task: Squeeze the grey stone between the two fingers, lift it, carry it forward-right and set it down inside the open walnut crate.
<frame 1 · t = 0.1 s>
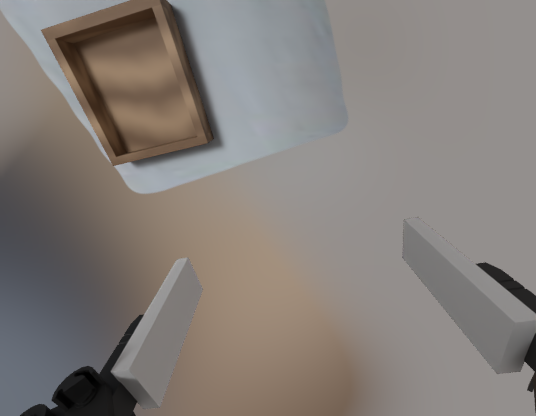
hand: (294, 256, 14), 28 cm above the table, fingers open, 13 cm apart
crate: (146, 92, 35), on the table
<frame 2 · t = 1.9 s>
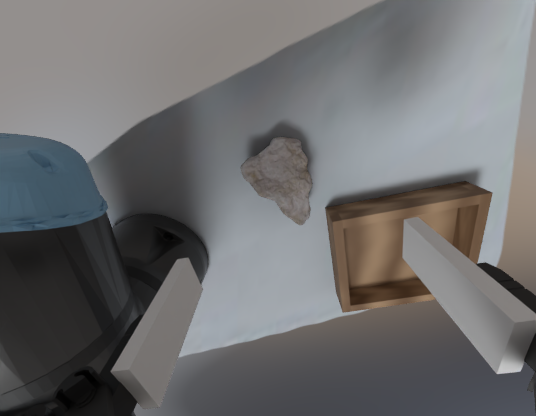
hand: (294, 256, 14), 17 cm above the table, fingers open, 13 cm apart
stone: (280, 175, 30), on the table
crate: (392, 243, 34), on the table
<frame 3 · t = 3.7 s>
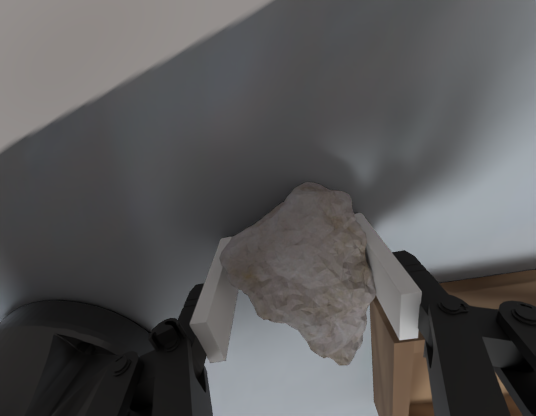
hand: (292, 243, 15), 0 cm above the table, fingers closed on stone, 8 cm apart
stone: (300, 245, 16), on the table, touching gripper
crate: (477, 344, 20), on the table
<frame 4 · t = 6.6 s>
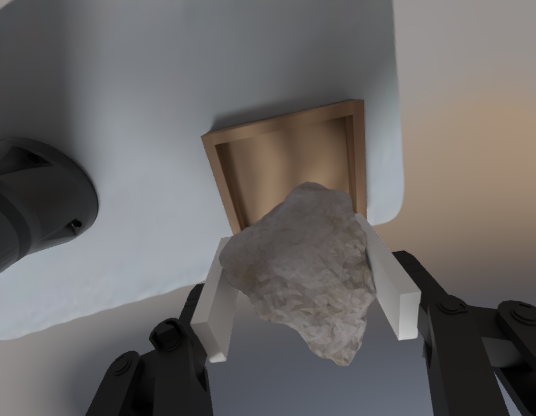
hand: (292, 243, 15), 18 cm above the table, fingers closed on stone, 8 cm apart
stone: (300, 245, 16), point 17 cm above the table, touching gripper
crate: (288, 176, 32), on the table
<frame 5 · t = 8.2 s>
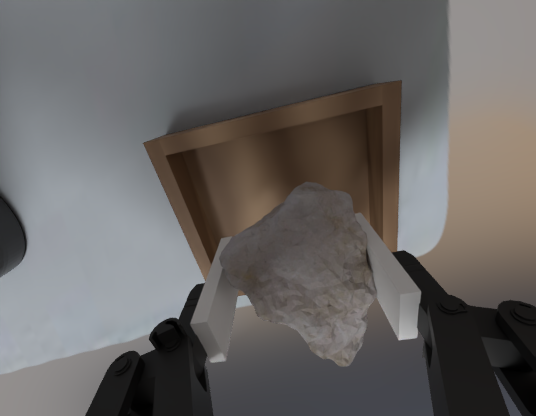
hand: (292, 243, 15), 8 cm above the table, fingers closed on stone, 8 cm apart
stone: (300, 246, 16), point 7 cm above the table, touching gripper
crate: (283, 196, 23), on the table
when the fingers open (4 cm above the table, at t = 9.2 s): stone drops 3 cm, resting on crate.
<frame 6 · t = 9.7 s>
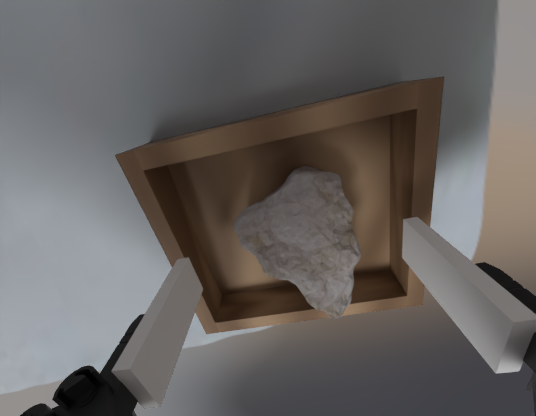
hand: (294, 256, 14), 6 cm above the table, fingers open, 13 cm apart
stone: (299, 223, 19), point 1 cm above the table, touching crate
crate: (288, 214, 19), on the table
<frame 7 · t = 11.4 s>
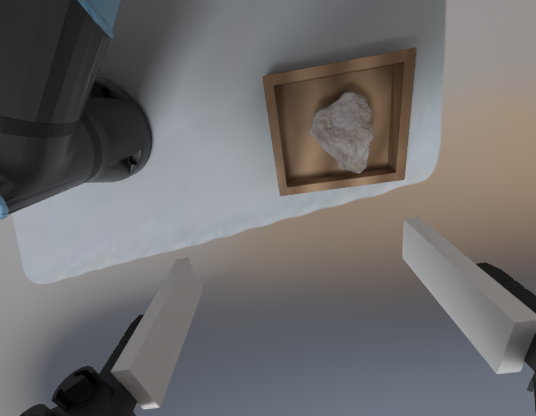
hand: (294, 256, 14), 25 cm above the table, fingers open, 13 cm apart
stone: (338, 133, 34), point 1 cm above the table, touching crate
crate: (332, 128, 34), on the table
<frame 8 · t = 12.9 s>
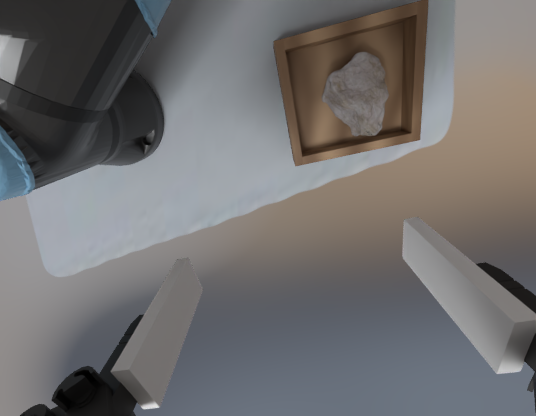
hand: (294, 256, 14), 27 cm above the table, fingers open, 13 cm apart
stone: (350, 99, 34), point 1 cm above the table, touching crate
crate: (344, 94, 34), on the table
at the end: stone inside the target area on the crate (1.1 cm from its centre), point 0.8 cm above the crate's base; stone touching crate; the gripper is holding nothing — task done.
